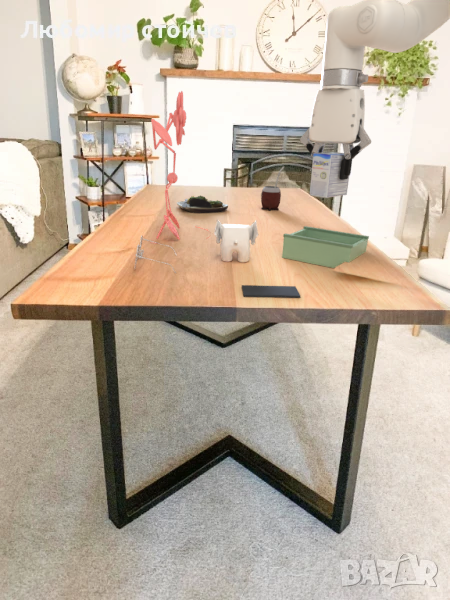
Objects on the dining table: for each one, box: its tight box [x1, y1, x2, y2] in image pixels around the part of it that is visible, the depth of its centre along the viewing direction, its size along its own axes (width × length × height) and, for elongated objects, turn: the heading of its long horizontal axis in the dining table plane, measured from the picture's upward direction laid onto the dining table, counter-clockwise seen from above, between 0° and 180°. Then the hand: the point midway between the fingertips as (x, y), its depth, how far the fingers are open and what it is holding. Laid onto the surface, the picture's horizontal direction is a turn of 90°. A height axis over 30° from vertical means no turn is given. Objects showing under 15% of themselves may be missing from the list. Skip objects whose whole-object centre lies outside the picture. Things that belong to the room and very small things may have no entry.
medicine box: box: [309, 152, 350, 199], centre depth 93 cm, size 8×4×9 cm, turn 134°
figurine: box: [149, 90, 214, 244], centre depth 112 cm, size 15×26×35 cm, turn 2°
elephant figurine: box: [213, 218, 259, 263], centre depth 98 cm, size 10×12×9 cm
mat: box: [241, 284, 301, 299], centre depth 80 cm, size 10×5×1 cm, turn 92°
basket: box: [281, 225, 370, 269], centre depth 101 cm, size 16×12×6 cm
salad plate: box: [176, 195, 229, 214], centre depth 158 cm, size 19×18×5 cm
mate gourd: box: [260, 166, 285, 212], centre depth 159 cm, size 8×8×15 cm
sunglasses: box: [133, 235, 178, 274], centre depth 93 cm, size 14×8×5 cm, turn 5°
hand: (330, 177), depth 93 cm, fingers closed on medicine box, 5 cm apart
